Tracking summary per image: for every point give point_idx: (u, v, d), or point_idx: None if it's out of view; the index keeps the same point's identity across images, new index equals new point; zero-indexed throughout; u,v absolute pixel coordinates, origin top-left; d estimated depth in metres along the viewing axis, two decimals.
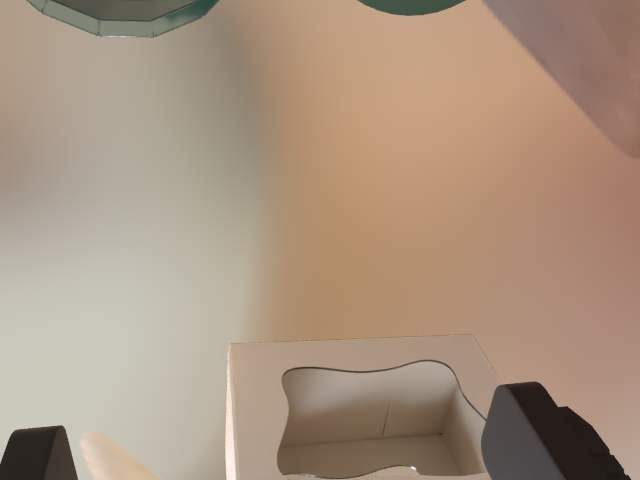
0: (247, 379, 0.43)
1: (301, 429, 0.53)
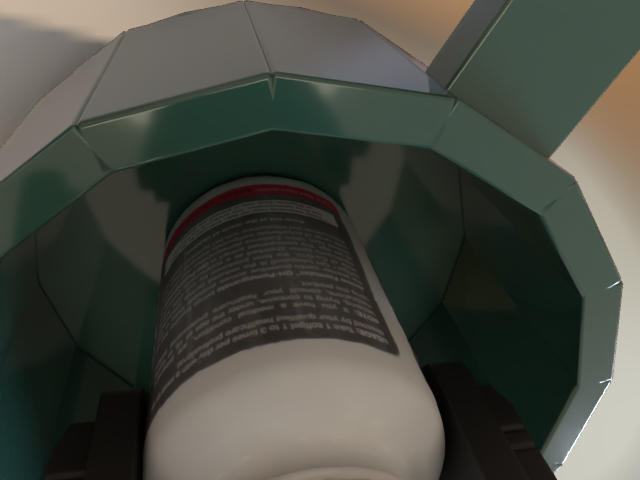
0: None
1: None
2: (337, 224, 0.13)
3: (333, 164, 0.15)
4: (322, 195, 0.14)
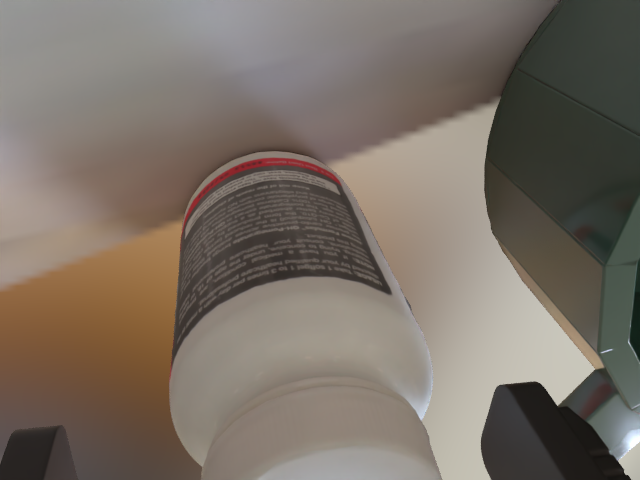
0: None
1: None
2: (339, 192, 0.15)
3: None
4: (326, 168, 0.16)
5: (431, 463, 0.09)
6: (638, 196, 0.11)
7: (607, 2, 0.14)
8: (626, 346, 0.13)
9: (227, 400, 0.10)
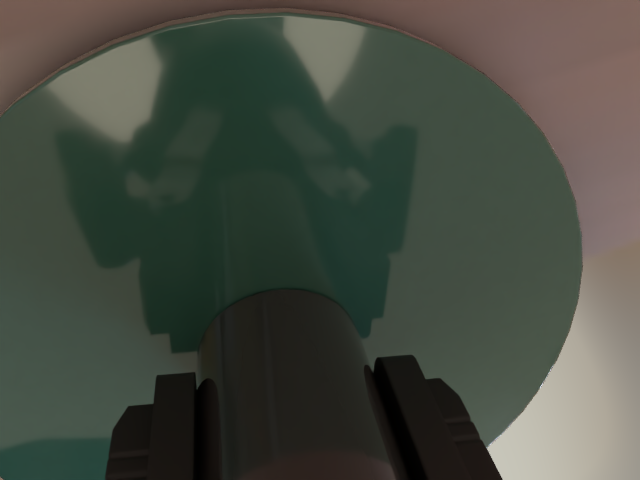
0: None
1: None
2: None
3: None
4: None
5: None
6: None
7: None
8: None
9: None
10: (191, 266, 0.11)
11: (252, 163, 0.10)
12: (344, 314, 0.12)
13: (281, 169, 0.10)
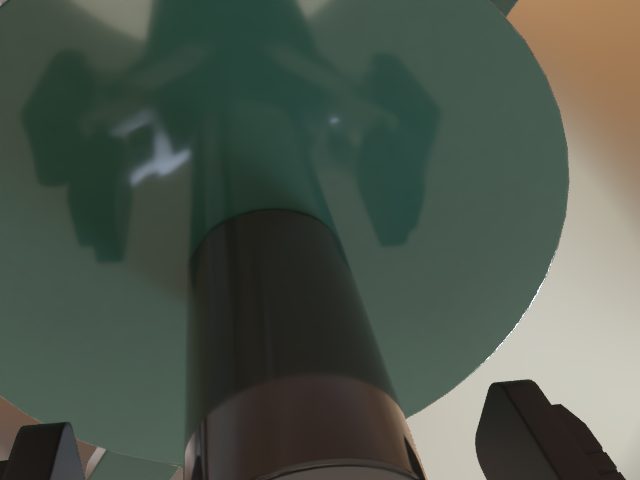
0: None
1: None
2: None
3: None
4: None
5: None
6: None
7: None
8: None
9: None
10: (174, 188, 0.11)
11: (227, 79, 0.10)
12: (329, 233, 0.12)
13: (257, 84, 0.10)
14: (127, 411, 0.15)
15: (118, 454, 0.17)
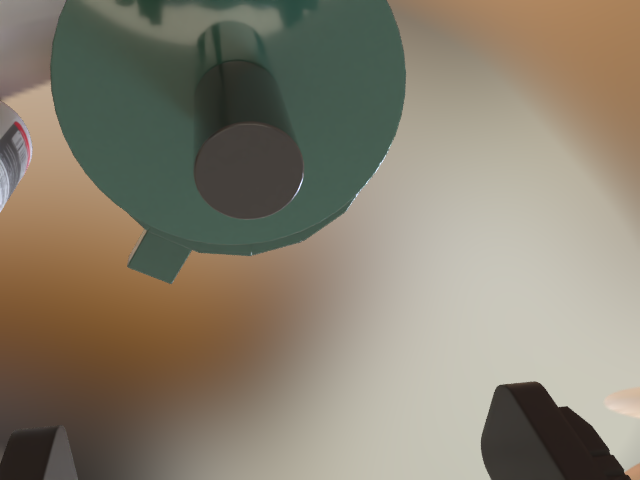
0: None
1: None
2: None
3: None
4: None
5: None
6: None
7: None
8: None
9: None
10: (187, 45, 0.22)
11: None
12: (270, 75, 0.23)
13: None
14: (158, 194, 0.25)
15: (150, 242, 0.28)
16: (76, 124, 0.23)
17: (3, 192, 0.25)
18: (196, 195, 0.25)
